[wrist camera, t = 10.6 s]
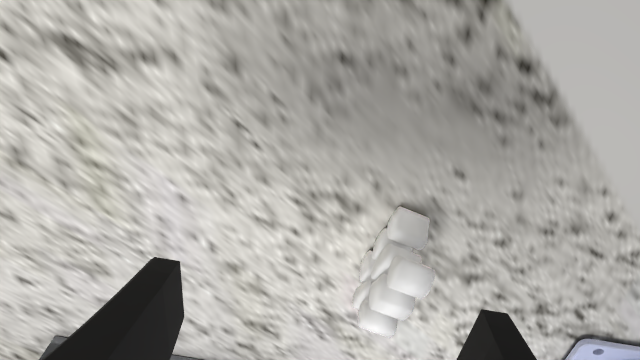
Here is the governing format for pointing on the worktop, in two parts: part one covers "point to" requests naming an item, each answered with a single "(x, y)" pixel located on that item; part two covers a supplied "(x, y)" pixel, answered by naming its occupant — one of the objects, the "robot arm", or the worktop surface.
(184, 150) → the worktop surface
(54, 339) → the organiser
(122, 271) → the worktop surface
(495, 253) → the worktop surface
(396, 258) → the marshmallow
